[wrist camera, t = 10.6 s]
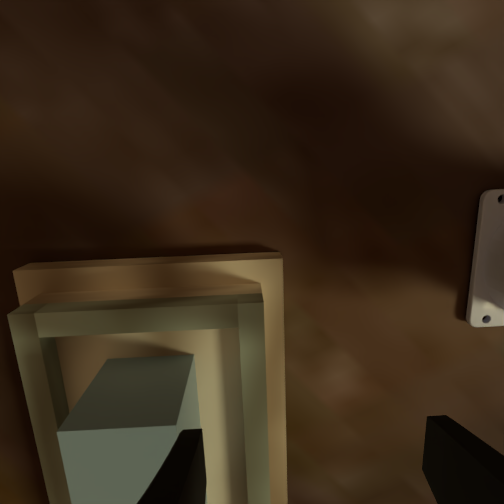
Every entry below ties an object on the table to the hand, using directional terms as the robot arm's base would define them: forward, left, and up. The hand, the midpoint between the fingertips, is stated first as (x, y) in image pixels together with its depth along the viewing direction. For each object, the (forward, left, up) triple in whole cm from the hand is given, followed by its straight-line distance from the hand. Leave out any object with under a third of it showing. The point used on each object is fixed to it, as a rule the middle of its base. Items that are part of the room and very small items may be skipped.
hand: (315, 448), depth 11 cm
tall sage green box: (+7, +6, -7) cm, 11 cm away
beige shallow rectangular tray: (+7, +6, -10) cm, 14 cm away
